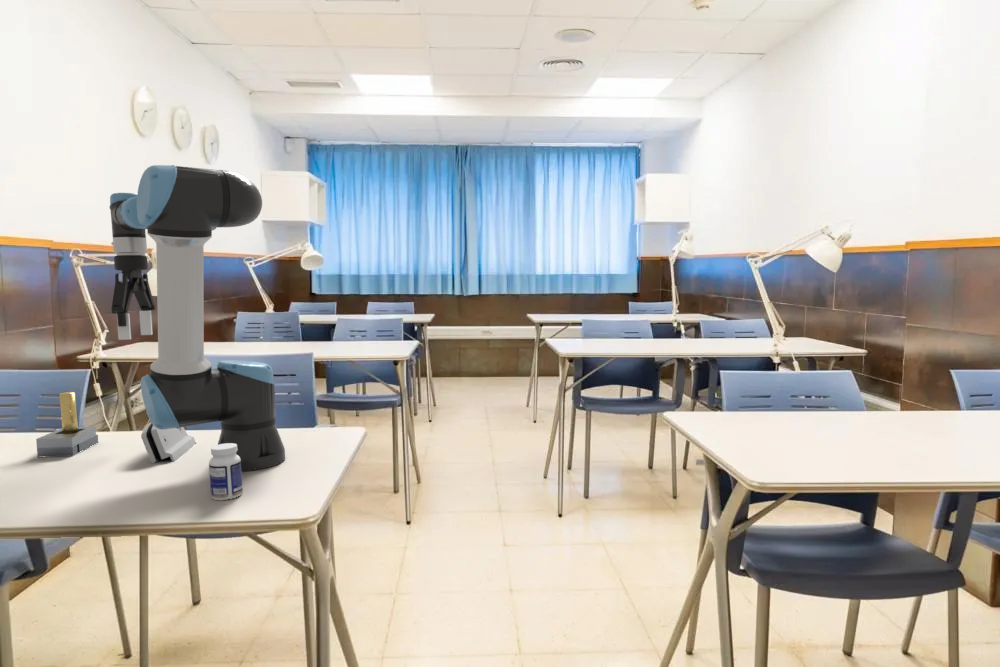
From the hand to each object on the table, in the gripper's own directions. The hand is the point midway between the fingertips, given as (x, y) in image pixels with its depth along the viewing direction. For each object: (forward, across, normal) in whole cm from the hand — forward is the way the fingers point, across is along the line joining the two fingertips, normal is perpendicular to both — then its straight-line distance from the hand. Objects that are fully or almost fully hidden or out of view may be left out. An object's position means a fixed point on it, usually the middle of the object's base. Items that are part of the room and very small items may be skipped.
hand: (136, 337), depth 170 cm
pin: (+27, +8, -14) cm, 31 cm away
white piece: (+27, +16, +12) cm, 34 cm away
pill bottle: (+28, +50, +35) cm, 67 cm away
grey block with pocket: (+27, +8, -14) cm, 31 cm away
